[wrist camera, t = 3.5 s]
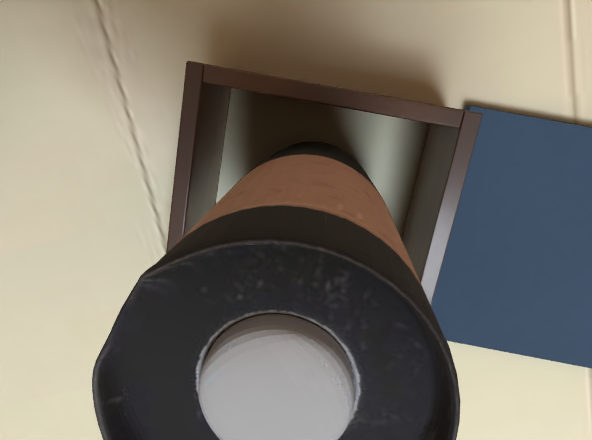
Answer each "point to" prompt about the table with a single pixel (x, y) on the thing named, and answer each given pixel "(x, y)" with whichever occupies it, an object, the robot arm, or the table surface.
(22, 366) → the table surface
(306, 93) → the cube shelf
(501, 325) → the mat
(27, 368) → the table surface
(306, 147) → the travel mug
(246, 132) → the table surface
